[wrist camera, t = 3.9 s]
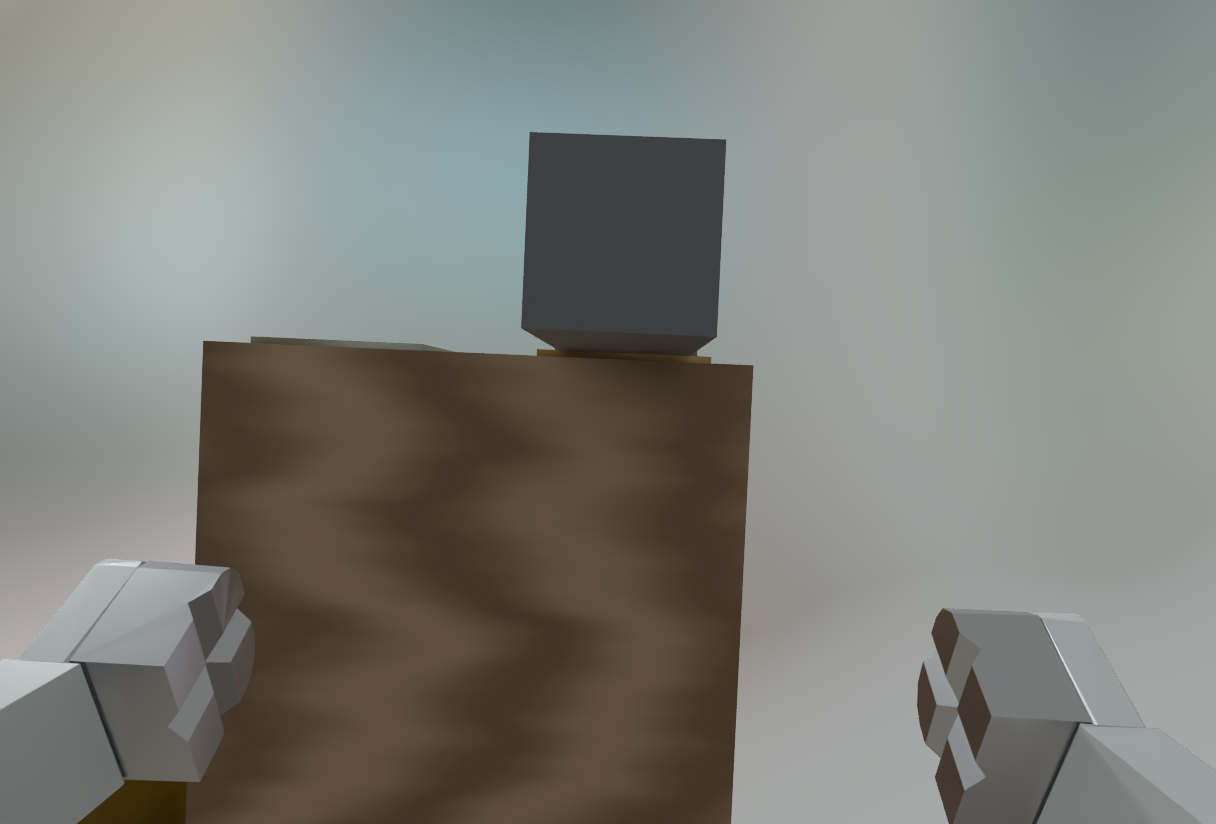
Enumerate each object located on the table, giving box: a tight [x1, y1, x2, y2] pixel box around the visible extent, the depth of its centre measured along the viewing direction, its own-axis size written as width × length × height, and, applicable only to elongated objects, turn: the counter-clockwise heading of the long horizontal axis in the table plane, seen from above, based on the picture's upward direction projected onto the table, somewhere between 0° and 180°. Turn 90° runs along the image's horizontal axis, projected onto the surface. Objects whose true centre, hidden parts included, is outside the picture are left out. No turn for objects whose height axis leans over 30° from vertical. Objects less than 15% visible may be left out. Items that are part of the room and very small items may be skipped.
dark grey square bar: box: [521, 132, 726, 356], centre depth 26 cm, size 5×18×5 cm, turn 178°
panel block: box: [185, 337, 753, 824], centre depth 31 cm, size 15×12×26 cm
